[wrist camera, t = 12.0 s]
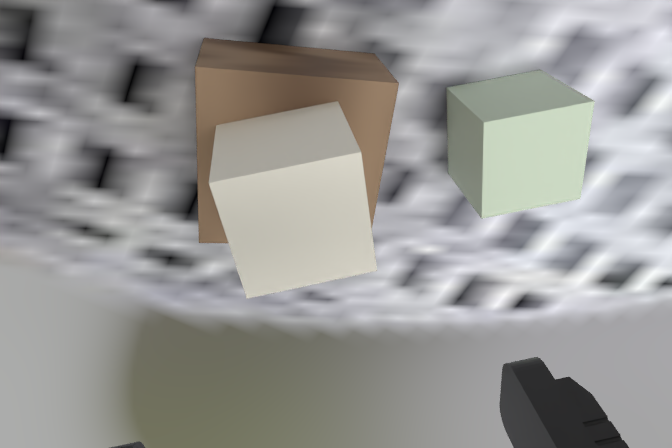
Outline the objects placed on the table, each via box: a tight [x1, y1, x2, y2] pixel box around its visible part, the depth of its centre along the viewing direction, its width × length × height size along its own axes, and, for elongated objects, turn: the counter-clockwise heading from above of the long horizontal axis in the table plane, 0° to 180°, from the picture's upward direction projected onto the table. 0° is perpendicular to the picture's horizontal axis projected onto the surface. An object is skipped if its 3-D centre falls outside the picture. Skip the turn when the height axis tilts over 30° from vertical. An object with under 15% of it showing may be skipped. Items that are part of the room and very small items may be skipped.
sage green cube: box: [446, 70, 595, 219], centre depth 25 cm, size 5×5×5 cm
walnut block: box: [195, 38, 399, 243], centre depth 24 cm, size 8×8×5 cm
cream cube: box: [209, 101, 377, 299], centre depth 20 cm, size 5×5×5 cm
